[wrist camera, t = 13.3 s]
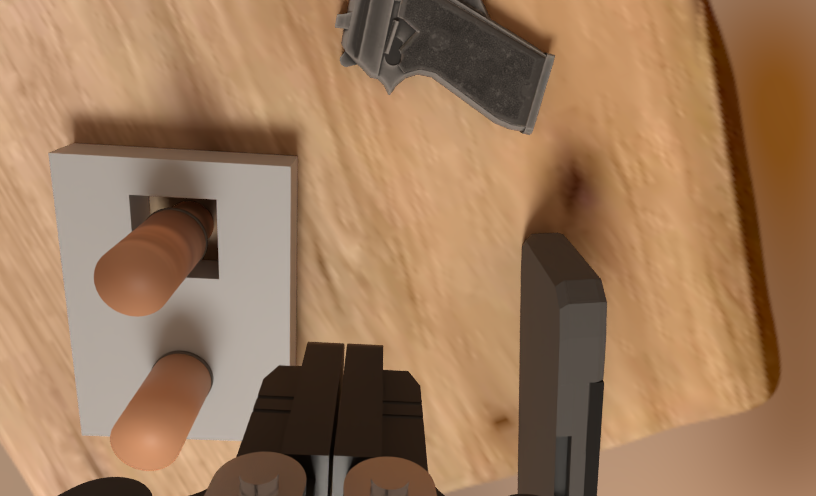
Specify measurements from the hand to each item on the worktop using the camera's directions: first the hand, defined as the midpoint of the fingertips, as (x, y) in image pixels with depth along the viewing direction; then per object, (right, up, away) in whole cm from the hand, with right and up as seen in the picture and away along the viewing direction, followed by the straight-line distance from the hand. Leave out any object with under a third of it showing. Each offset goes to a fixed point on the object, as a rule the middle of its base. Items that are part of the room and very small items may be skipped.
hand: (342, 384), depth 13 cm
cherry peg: (-12, +4, +27) cm, 30 cm away
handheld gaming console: (+10, -7, +32) cm, 34 cm away
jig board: (-12, 0, +28) cm, 31 cm away
